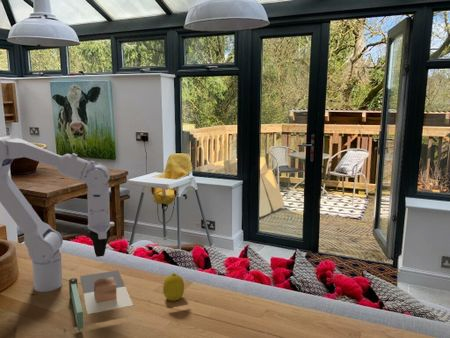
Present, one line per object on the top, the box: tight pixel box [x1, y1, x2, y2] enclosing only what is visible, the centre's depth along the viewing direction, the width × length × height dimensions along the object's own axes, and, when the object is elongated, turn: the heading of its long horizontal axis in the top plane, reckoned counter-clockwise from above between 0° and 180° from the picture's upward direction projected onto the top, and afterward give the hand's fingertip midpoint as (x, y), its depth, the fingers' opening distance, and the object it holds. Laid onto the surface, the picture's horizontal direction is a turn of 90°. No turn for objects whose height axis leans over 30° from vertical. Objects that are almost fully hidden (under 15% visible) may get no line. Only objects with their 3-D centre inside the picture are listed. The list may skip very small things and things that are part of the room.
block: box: [94, 277, 117, 303], centre depth 99 cm, size 5×5×4 cm
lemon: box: [162, 272, 185, 302], centre depth 99 cm, size 6×6×8 cm
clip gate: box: [71, 284, 84, 330], centre depth 90 cm, size 1×15×4 cm, turn 26°
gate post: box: [68, 277, 78, 301], centre depth 98 cm, size 2×2×6 cm
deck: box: [79, 270, 134, 315], centre depth 103 cm, size 22×11×1 cm, turn 25°
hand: (99, 255), depth 106 cm, fingers closed
